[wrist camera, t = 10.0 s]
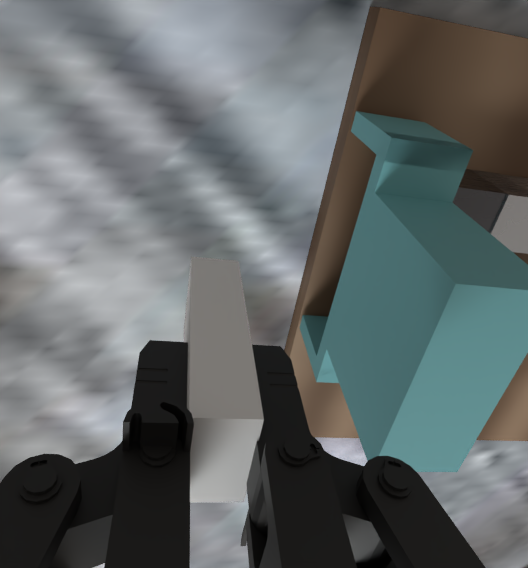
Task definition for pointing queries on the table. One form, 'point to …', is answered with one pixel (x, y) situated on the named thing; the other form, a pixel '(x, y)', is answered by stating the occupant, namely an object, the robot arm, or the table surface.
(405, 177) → the teal upright slab
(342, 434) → the board
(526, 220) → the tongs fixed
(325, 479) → the robot arm
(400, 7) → the table surface
